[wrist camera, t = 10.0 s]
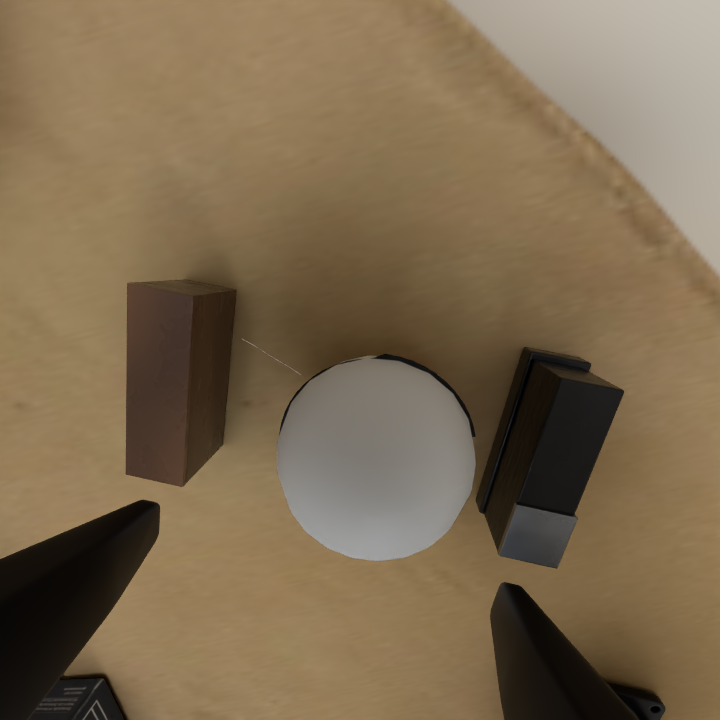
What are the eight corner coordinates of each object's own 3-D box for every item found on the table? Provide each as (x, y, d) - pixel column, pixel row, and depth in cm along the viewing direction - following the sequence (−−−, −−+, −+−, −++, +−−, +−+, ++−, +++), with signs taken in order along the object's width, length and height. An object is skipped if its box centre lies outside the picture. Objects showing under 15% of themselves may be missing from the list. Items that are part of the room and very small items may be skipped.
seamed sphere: (489, 430, 17) (558, 549, 10) (363, 504, 19) (344, 652, 11) (362, 253, 15) (335, 242, 8) (237, 351, 17) (126, 412, 10)
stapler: (580, 357, 16) (636, 384, 12) (524, 511, 18) (558, 573, 14) (523, 346, 16) (561, 369, 12) (474, 500, 18) (494, 559, 14)
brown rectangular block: (236, 289, 16) (193, 296, 13) (222, 445, 18) (182, 487, 15) (184, 279, 16) (126, 282, 13) (176, 435, 18) (125, 474, 15)
